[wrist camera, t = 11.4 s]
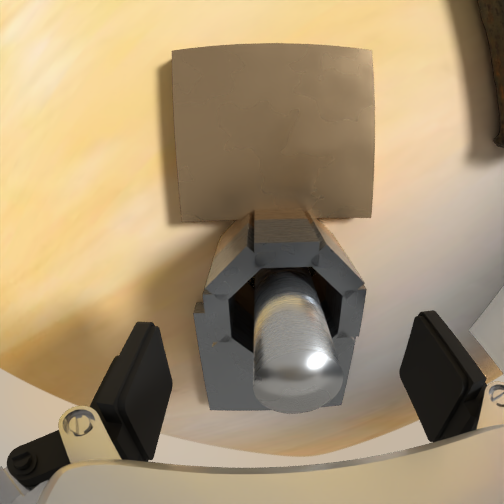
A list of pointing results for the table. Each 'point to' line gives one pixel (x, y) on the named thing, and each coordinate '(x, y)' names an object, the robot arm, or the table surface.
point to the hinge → (272, 187)
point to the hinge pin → (292, 343)
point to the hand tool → (496, 51)
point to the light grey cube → (492, 329)
